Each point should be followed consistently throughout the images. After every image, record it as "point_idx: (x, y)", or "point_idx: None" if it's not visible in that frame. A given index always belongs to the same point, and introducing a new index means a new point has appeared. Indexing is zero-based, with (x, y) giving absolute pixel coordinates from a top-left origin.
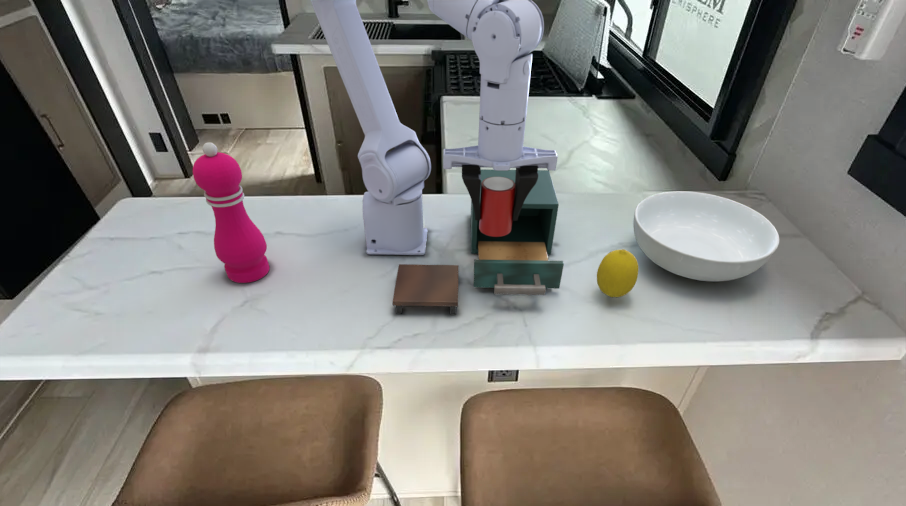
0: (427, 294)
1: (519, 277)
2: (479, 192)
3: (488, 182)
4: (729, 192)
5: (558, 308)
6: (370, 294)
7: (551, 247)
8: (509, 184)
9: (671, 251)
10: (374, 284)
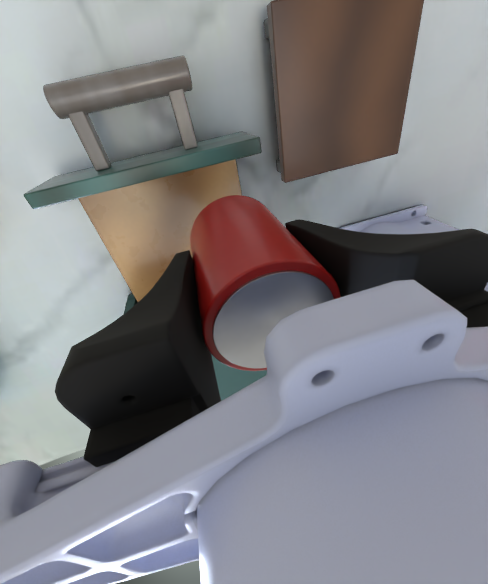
0: (346, 27)
1: (144, 158)
2: (348, 246)
3: None
4: None
5: (32, 113)
6: (433, 72)
7: (126, 303)
8: (229, 334)
9: None
10: (421, 113)
